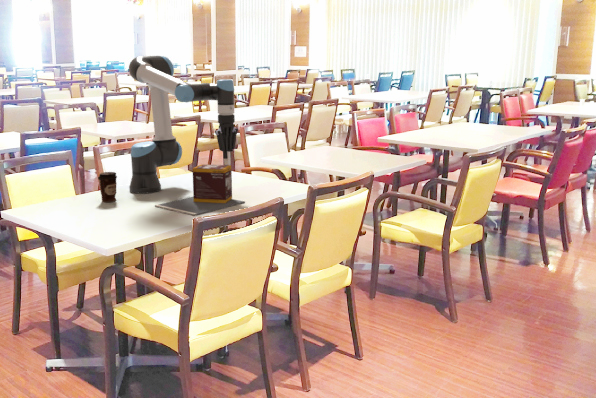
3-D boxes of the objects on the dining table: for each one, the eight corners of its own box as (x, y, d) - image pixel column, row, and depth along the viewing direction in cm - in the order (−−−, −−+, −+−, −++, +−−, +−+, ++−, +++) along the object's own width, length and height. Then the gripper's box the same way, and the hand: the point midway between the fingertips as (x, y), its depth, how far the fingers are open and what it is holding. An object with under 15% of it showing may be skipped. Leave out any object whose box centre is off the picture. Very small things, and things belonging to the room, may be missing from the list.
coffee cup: (123, 200, 297) (121, 172, 294) (110, 203, 290) (108, 175, 287) (108, 198, 301) (106, 170, 298) (95, 202, 293) (93, 173, 290)
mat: (154, 206, 284) (154, 205, 284) (205, 195, 307) (205, 193, 307) (194, 215, 268) (194, 214, 268) (244, 202, 291) (244, 201, 291)
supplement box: (226, 203, 287) (225, 169, 284) (193, 202, 290) (191, 167, 287) (232, 198, 297) (232, 165, 294) (201, 197, 300) (200, 163, 297)
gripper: (221, 115, 285) (223, 168, 290) (242, 113, 295) (243, 164, 300) (209, 114, 290) (211, 166, 295) (230, 112, 300) (231, 162, 305)
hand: (227, 165), depth 298 cm, fingers closed
